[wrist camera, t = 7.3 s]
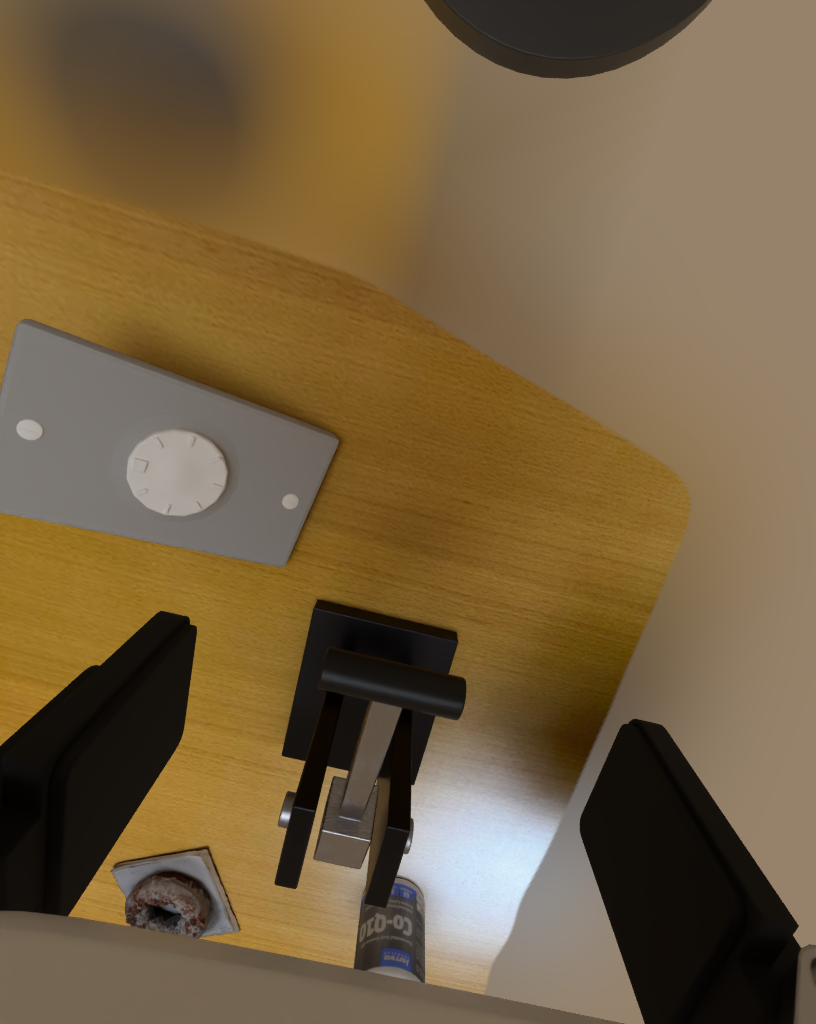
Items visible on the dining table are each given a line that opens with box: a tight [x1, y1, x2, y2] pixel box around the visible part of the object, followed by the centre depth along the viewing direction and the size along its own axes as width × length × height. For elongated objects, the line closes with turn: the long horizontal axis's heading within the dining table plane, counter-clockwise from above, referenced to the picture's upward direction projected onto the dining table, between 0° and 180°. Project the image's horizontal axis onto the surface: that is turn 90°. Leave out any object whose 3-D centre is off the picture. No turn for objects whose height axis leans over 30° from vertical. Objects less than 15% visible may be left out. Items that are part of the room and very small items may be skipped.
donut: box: [110, 849, 240, 939], centre depth 36 cm, size 8×8×2 cm
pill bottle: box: [353, 878, 425, 983], centre depth 33 cm, size 5×5×8 cm
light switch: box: [0, 319, 339, 567], centre depth 26 cm, size 8×6×14 cm
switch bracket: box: [275, 600, 458, 908], centre depth 26 cm, size 11×9×12 cm
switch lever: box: [313, 647, 466, 869], centre depth 20 cm, size 12×5×2 cm, turn 166°
